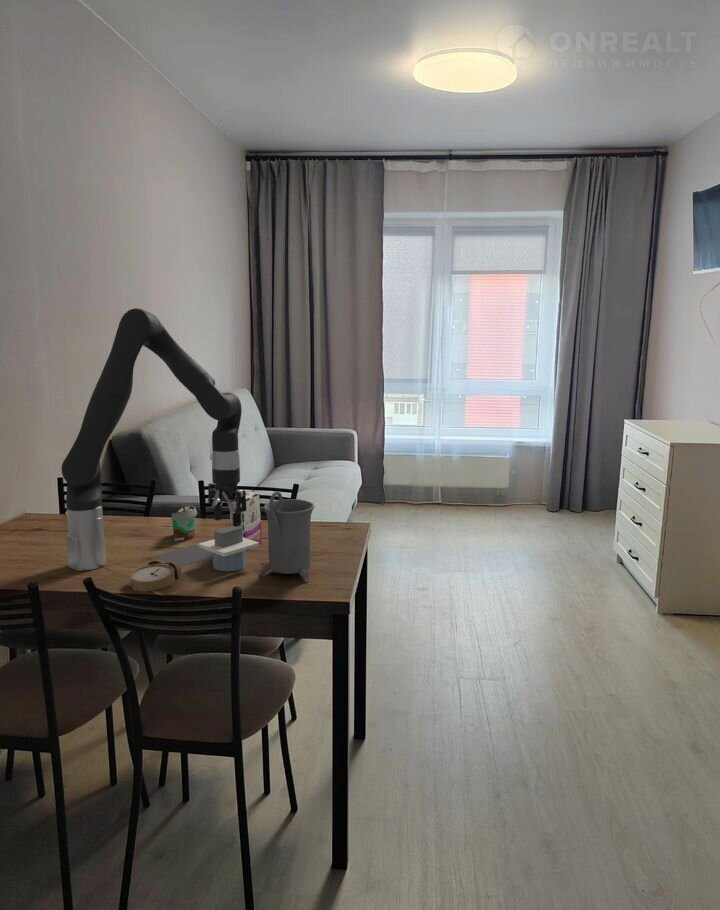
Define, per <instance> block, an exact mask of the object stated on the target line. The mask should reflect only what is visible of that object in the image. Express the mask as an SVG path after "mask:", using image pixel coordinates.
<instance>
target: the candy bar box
mask: <svg viewBox="0 0 720 910" xmlns="http://www.w3.org/2000/svg"><path fill="white" fill-rule="evenodd" d="M245 493H246V511H244V512H241V525H240V526H237V527H241V528H242V537H243V538H246V539H250V540H253V541H256V542H259V545H261V544H262V543H263V540H262V539H263V537H262V535H263V534H262V520H261V519H262V518H261V515H262V514H261V495H260V492H256V491H245ZM233 502H236V501H235V500H234V501H233ZM240 505H241V507H242V503H241V504H240ZM235 508H236V506H235ZM236 509H237V508H236ZM229 522H230V527H231V526H233V512H232V509H231V507H229ZM249 550H251V549H248V550H246V553H247V552H248V551H249Z"/></svg>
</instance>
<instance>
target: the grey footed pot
mask: <svg viewBox="0 0 720 910" xmlns="http://www.w3.org/2000/svg"><path fill="white" fill-rule="evenodd" d="M275 497H278V499H277V500H275ZM314 509H315V504H314V503H313V502H311V501H308V500H304V499H296V498H292V499H291V498H290V499H289V498H287V499H284V498H283V495H282V493H281V492H280V491H277V490H276V491H274V492H273V493H272V494H271V495H270V498H269V502H266V503H265V504H264V505H263V510H264V512H265V514H266V517H267V518H266V520H267V537H268V539H267V541H268V562H267V563H265V564H264V565H263V566H262V568H261V571H260V572H259V573H258V575H259V576H263V575H265V574H266V573H267V571H272V572H274V573H277V574H278V573H279V574H286V575H287V574H289V575H290V574H298V575H299V576H301V578H302V580H303V581H304V582H305V581H306V582H307V581H308V582H309V580H308V574H307V571H308V570H309V569H310V568H311V566H312V549H311V546H312V544H311V541H312V540H311V539H312V538H311V537H312V536H311V535H312V534H311V520H312V513H313V510H314ZM306 582H305V583H306ZM308 582H307V583H308Z"/></svg>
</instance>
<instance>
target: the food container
mask: <svg viewBox="0 0 720 910" xmlns="http://www.w3.org/2000/svg"><path fill="white" fill-rule="evenodd" d="M197 515H198V511H197V509H196V506H195V505H193V504H188V503H182V504H181V507H180V508H179V509H177V510H176V512H175V513H174V512H173V513H171V522H172V530H173V542H174V543H175V542H177V543H178V542H186V541H190V540H193V539H194V538H195V531H196V529H195V528H196V527H195V525H196V516H197Z"/></svg>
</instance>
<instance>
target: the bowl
mask: <svg viewBox="0 0 720 910" xmlns="http://www.w3.org/2000/svg"><path fill="white" fill-rule="evenodd" d="M212 566H213V569H214V570H217V571H220V572H232V571H233V572H234V573H236V572H241V571H243V570H244V569H245V567H246V566H247V552H246V550H245V551H242V552H238V553H235V554H232V555H228V556H225V557H224V556H221V555H218V554H216V553H213V558H212Z"/></svg>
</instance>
